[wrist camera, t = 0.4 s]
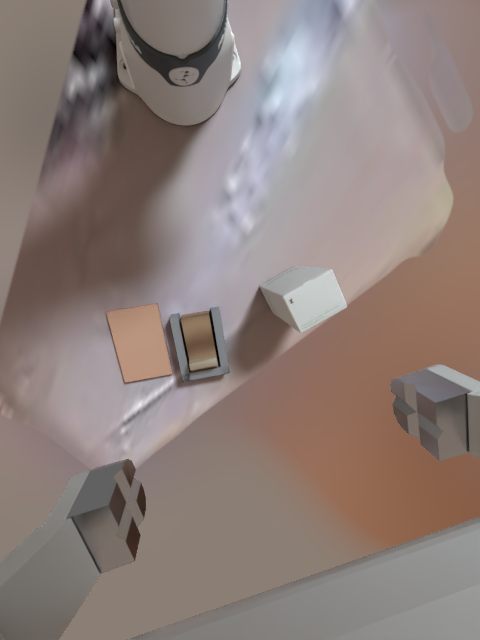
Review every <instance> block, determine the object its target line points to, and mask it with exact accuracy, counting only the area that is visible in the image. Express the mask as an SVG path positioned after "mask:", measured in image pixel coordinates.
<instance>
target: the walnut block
mask: <svg viewBox="0 0 480 640" xmlns="http://www.w3.org/2000/svg"><path fill="white" fill-rule="evenodd" d="M181 323H182V328H183V333H184V337H185V342H186V347H187V352H188V357H189V366H190V370H191V371H197V370H203V369H208V368H213V367H218V361H217V355H216V350H215V344H214V339H213V333H212V327H211V322H210V316H209V311H204V312H198V313H192V314H186V315H182V318H181Z"/></svg>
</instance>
